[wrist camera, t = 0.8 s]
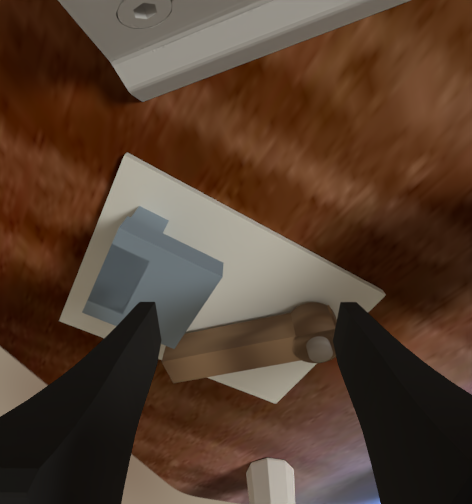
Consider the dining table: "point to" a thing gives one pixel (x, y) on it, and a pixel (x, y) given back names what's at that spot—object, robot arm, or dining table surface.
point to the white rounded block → (203, 34)
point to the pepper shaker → (270, 482)
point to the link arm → (254, 344)
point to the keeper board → (244, 268)
